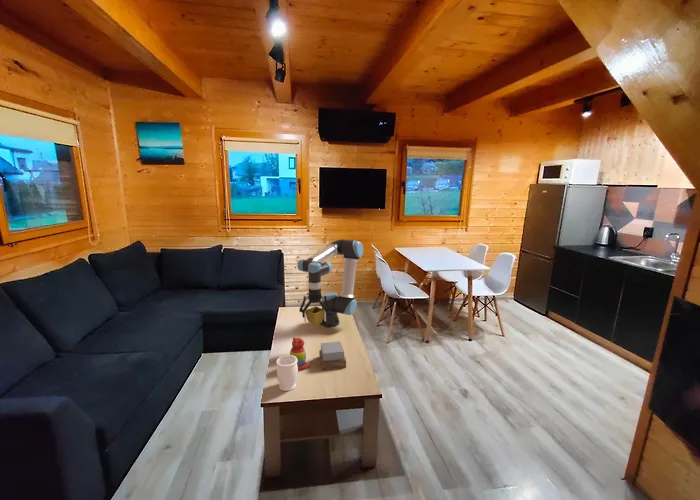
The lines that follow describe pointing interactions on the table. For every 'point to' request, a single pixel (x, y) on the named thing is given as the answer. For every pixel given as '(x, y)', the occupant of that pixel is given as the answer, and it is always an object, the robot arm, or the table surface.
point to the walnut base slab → (332, 363)
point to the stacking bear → (299, 353)
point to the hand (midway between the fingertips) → (315, 321)
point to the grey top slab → (332, 351)
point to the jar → (287, 372)
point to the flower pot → (315, 315)
